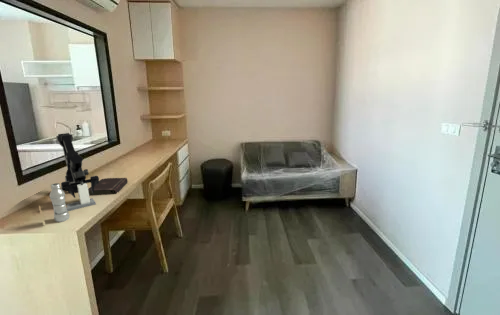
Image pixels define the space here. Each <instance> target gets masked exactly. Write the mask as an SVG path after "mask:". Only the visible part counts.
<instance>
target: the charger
mask: <svg viewBox="0 0 500 315" xmlns="http://www.w3.org/2000/svg"><path fill="white" fill-rule="evenodd" d="M80 183H81V184H80V185H77V188H78V192H77V193H78V198H79V201H80V205H81V204H85V203H90V199H91V198H90V195H89V191H88V189H89V187H88V183H84V184H83V182H80Z"/></svg>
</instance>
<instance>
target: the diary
mask: <svg viewBox="0 0 500 315" xmlns="http://www.w3.org/2000/svg"><path fill="white" fill-rule="evenodd" d="M128 182H129V181H128V178H127V177H106V178H101V179H99V183H98V184H97V185H95V186H94V194H93V193H92V188H91V186H90V187H88V191H89V196H93V195H94V196H97V195H98V196H99V195H111V194H113V195H114V194H118V193H120V191H122V190H123V188H124V187H125V186H127V184H128Z"/></svg>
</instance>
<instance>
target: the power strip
mask: <svg viewBox="0 0 500 315" xmlns="http://www.w3.org/2000/svg"><path fill="white" fill-rule="evenodd" d="M65 204H66V208H67V211H68V212H71V211H75V210H79V209H83V208H88V207H90V206H95V205H97V204H96V201H95V200H94V198H90V203H85V204H81V205H80V200H78V201H74V202H70V203H65Z"/></svg>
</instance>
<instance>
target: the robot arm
mask: <svg viewBox="0 0 500 315" xmlns="http://www.w3.org/2000/svg"><path fill="white" fill-rule="evenodd" d="M55 138H56V141H57V142H58V145H60V147H62V150H63V156H64V158H65V163H66V167H67V168H66V172H65V177H64V180H65V181H62V182H60V189H62V190H63V191H64V192H67V194H70V195H71V196H72V197H73V198H74V199H75V198H76V195H75V193H78V188H77V185H80V184H81V183H80V182H83V184H84V183H86V184H89V183H90V187H91V188H92V193H93V194H94V186H95V185H97V184H98V183H99V181H100V177H99V176H98V175H93V176H90V178H89V179H87V176H88V175H89V170H88V169H87V168H84V169H83V161H84V158H83V157H82V156H81V155H80V154H79V152H77V151H76V150H75V146H74V145H73V144H74V143H73V140H74V138H73V134H71V133H69V132H68V133H67V132H65V133H58V134H57V135H56V137H55Z"/></svg>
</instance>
